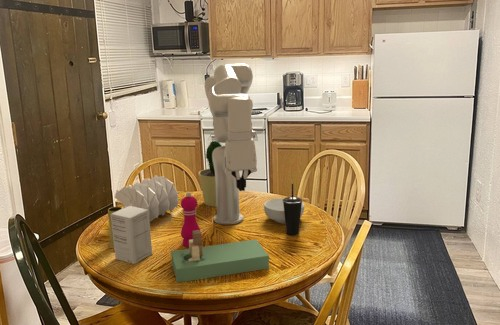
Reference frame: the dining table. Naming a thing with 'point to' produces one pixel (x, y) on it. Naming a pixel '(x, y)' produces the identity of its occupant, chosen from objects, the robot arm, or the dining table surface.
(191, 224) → the pepper mill
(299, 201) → the drinking cup
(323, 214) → the dining table surface
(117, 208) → the vase
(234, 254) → the putting mat
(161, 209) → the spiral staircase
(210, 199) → the potted cactus
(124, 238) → the supplement box
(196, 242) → the stacked wooden blocks
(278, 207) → the cereal bowl
